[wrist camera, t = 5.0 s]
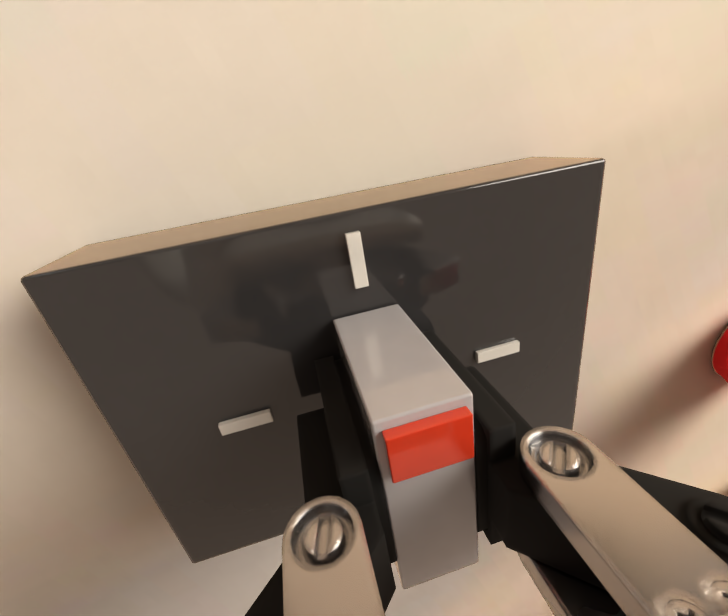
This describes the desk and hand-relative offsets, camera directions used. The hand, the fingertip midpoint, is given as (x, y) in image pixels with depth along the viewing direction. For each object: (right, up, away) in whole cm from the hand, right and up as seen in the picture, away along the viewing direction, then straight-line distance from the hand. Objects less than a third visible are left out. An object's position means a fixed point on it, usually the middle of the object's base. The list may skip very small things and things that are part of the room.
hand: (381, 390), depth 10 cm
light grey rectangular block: (0, 0, 0) cm, 0 cm away
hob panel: (-1, +1, +3) cm, 3 cm away
